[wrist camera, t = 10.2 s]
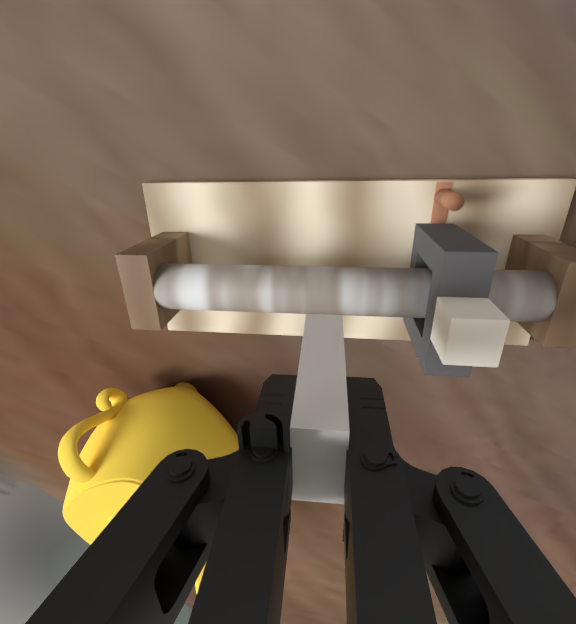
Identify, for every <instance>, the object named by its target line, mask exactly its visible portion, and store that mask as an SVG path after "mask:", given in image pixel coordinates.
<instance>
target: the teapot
mask: <svg viewBox="0 0 576 624" xmlns="http://www.w3.org/2000/svg"><path fill="white" fill-rule="evenodd" d="M109 400H110V401H111V403H112V405H111V404H110V403H109ZM96 404H97V407H98V408H99V409H100V410H101V411H103V412H101V413H98V414H96V415H94V416H91V417H89V418H87V419H85V420H83V421H81V422H79V423H78V424H76V425H75V426H73V427H72V428H71V429H70V430H69V431H68V432H67V433H66V434H65V435H64V436H63V438H62V439H61V442H60V444H59V448H58V457H59V462H60V465H61V467H62V469H63V471H64V472H65V473H66V475H67V476H68V477H70V478H71V479H70V483H69V486H68V490H67V493H66V497H65V501H64V506H63V516H64V519H65V521H66V522H67V523H68V525H69V526H70V527H71V528H72V529H73V530H74V531H75V532H76V533H77V534H78V535H79V536H81V537H82V538H83V539H84V540H85V541H87V542H88V543H89V544H90V545H91V544H92V543H93V542H94V540H95V539H96V538H97V537H98V536H99V534H100V533H101V532H102V531H103V530H104V528H105V527H106V526H107V525H108V524H109V522H110V521H111V520H112V519H113V518H114V516H115V515H116V514H117V513H118V512H119V510H120V509H121V508H122V507H123V506H124V504H125V503H126V502H127V501H128V500H129V498H130V497H131V496H132V495H133V494H134V492H135V491H136V490H137V489H138V488H139V486H140V485H141V484H142V483H143V482H144V480H145V479H146V478H147V477H148V476H149V474H150V473H151V472H152V471H153V470H154V468H155V467H156V466H157V465H158V464H159V462H160V461H162V460H163V459H164V458H165V457H166V456H167V455H169V454H171V453H173V452H175V451H178V450H183V449H194V450H197V451H199V452H201V453H203V454H204V456H205V457H206V459H212V458H217V457H222V456H226V455H229V454H231V453H233V452H235V451H237V450H238V449H239V445H238V436H237V434H236V432H235V431H234V429H233V428H232V427H231V425H230V424H229V423H228V421H227V420H226V419H225V418H224V417H223V415H222V414H221V413H220V412H219V411H218V410H217V409H216V408H215V407H214V406H213V405H212V404H211V403H210V402H209V401H208V400H207V399H205V398H204V397H203V396H202V395H200V394H199V393H198V391H197V389H196V388H195V387H194V386H193V385H191V384H189V383H185V382H181V383H178V384H176V385H175V386H174V387H168V388H162V389H158V390H153V391H150V392H146V393H143V394H140V395H137V396H135V397H132V398H130V399H128V400H127V396H126V394H125V393H124V392H123V391H121V390H120V389H118V388H114V387H112V388H107V389H104V390H103V391H101V392H100V393H99V394H98V396H97V398H96ZM97 425H98V426H97ZM95 426H97V427H96V429H95V430H94V431H93V433H92V434H91V436H90V438H89V439H88V441H87V442H86V444H85V446H84V448H83V450H82V451H81V453H80V455H79V453H78V449H77V443H78V440H79V438H80V437H81V436H82V435H83V434H84V433H85V432H87V431H88V430H90V429H91V428H93V427H95ZM206 562H207V561H206ZM205 565H206V563H205ZM205 565H204V567H203V569H202V571H201V573H200V575H199V576H198V578H197V580H196V582H195V585H196V594H197V592H198V589H199V585H200V582H201V579H202V575H203V572H204V568H205Z"/></svg>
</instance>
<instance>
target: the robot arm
mask: <svg viewBox="0 0 576 624" xmlns="http://www.w3.org/2000/svg"><path fill="white" fill-rule="evenodd" d="M236 427H237V436H238V445H239V449H238V450H237V451H235V452H233V453H231V454H229V455H226V456H222V457H217V458H212V459H206V457H205V456H204V454H203V453H201V452H199V451H197V450H194V449H183V450H178V451H175V452H173V453H171V454H169V455H167V456H166V457H165V458H164V459H163V460H162V461H160V462H159V464H158V465H157V466H156V467H155V468H154V470H153V471H152V472H151V473H150V474H149V476H148V477H147V478H146V479H145V480H144V482H143V483H142V484H141V485H140V486H139V488H138V489H137V490H136V491H135V492H134V494H133V495H132V496H131V497H130V498H129V500H128V501H127V502H126V503H125V504H124V506H123V507H122V508H121V509H120V510H119V512H118V513H117V514H116V515H115V516H114V518H113V519H112V520H111V521H110V522H109V524H108V525H107V526H106V527H105V528H104V530H103V531H102V532H101V533H100V534H99V536H98V537H97V538H96V539H95V540H94V542H93V543H92V544H91V545H90V546H89V548H88V549H87V550H86V551H85V552H84V554H83V555H82V556H81V557H80V558H79V560H78V561H77V562H76V563H75V565H74V566H73V567H72V568H71V569H70V570H69V572H68V573H67V574H66V575H65V576H64V578H63V579H62V580H61V581H60V583H59V584H58V585H57V586H56V587H55V588H54V590H53V591H52V592H51V593H50V595H49V596H48V597H47V598H46V599H45V600H44V602H43V603H42V604H41V605H40V607H39V608H38V609H37V610H36V611H35V612H34V614H33V615H32V616H31V617H30V618H29V620H28V621H27V622H26V623H25V624H174V622H175V620H176V618H177V616H178V614H179V612H180V611H181V609H182V607H183V605H184V603H185V601H186V599H187V597H188V595H189V593H190V592H191V590H192V588H193V586H194V584H195V582H196V580H197V578H198V576H199V575H200V573H201V571H202V569H203V567H204V565H205V563H206V565H205V568H204V572H203V575H202V579H201V582H200V585H199V589H198V592H197V596H196V599H195V603H194V606H193V609H192V613H191V616H190V620H189V623H188V624H280V618H281V608H282V599H283V589H284V579H285V570H286V560H287V551H288V541H289V531H290V522H291V510H290V506H291V497H292V500H301V501H313V502H325V503H336V504H344V503H345V515H344V529H343V542H344V544H345V578H346V611H347V624H437V622H436V617H435V612H434V608H433V603H432V598H431V594H430V589H429V584H428V580H427V575H426V572H427V574H428V577H429V579H430V581H431V584H432V586H433V588H434V590H435V593H436V595H437V597H438V600H439V602H440V604H441V606H442V609H443V611H444V613H445V615H446V618H447V620H448V622H449V624H576V598H575V596H574V595H573V594H572V592H571V591H570V590H569V588H568V587H567V586H566V584H565V583H564V582H563V580H562V579H561V578H560V576H559V575H558V573H557V572H556V571H555V569H554V568H553V567H552V565H551V564H550V563H549V561H548V560H547V559H546V557H545V556H544V555H543V553H542V552H541V551H540V549H539V548H538V546H537V545H536V544H535V542H534V541H533V540H532V538H531V537H530V536H529V534H528V533H527V532H526V530H525V529H524V528H523V526H522V525H521V524H520V522H519V521H518V519H517V518H516V517H515V515H514V514H513V513H512V511H511V510H510V509H509V507H508V506H507V505H506V503H505V502H504V501H503V499H502V498H501V497H500V495H499V494H498V492H497V491H496V490H495V488H494V487H493V486H492V485H491V484H490V483H489V482H488V481H487V480H486V479H485V478H484V477H482V476H481V475H479V474H477V473H476V472H474V471H472V470H469V469H466V468H463V467H449V468H446V469H443V470H442V471H441V472H440V473H439V474H438V475H434V474H432V473H429V472H426V471H423V470H420V469H418V468H415V467H413V466H411V465H410V464H408V463H407V462H405V461H404V460H403V459H402V458H401V457H400V456H399V454H398V453H397V452H396V450H395V448H394V445H393V442H392V437H391V432H390V427H389V422H388V417H387V412H386V407H385V402H384V397H383V392H382V388H381V387H380V385H379V384H378V383H377V382H376V380H375V379H374V378H360V377H346V366H345V350H344V334H343V318H342V315H326V314H306V319H305V326H304V333H303V340H302V347H301V354H300V361H299V368H298V375H276V374H272V375H271V376H270V377H269V378H268V379H267V380H266V381H265V382H264V384H263V387H262V391H261V395H260V398H259V402H258V405H257V409H256V411H255V412H252V413H249V414H247V415H246V416H245V417H243V418H242V419H241V420H240V421H239V423H238V425H237V426H236ZM206 561H207V562H206ZM425 570H426V571H425Z"/></svg>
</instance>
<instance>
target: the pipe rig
mask: <svg viewBox="0 0 576 624" xmlns="http://www.w3.org/2000/svg"><path fill="white" fill-rule="evenodd" d="M142 186H143V192H144V197H145V203H146V209H147V214H148V220H149V225H150V231H151V236H152V237H151V238H149V239H147V240H145V241H143V242H141V243H139V244H137V245H135V246H133V247H130V248H128V249H126V250H124V251H122V252H120V253H118V254H116V255H115V257H116V261H117V265H118V270H119V274H120V279H121V283H122V287H123V292H124V296H125V301H126V305H127V309H128V314H129V318H130V322H131V327H132V329H140V330H162V329H163V328H164V327H165V326H166V325H168V330H179V331H202V332H225V333H249V334H272V335H295V336H303V333H304V326H305V319H306V314H326V315H342V318H343V334H344V338H365V339H388V340H411V339H410V337H409V334H408V332H407V329H406V326H405V324H404V321H403V317H405V318H425V316H426V310H427V304H428V297H429V291H430V285H431V278H432V271H431V269H430V268H410V263H411V255H412V247H413V239H414V232H415V224H416V223H446V224H456V225H457V226H459V227H460V228H462V229H463V230H465V231H467V232H468V233H470V234H471V235H473V236H474V237H476V238H477V239H479V240H480V241H482V242H484V243H485V244H487V245H488V246H490V247H491V248H493V249H494V250H496V251H497V252H499V254H498V258H497V262H496V267H495V271H494V275H493V280H492V284H491V288H490V292H489V297H488V298H489V299H490V300H491V301H492V302H493V303H494V304H495V305H496V306H497V307H498V308H499V309H500V310H501V311H502V312H503V313H504V314H505V315H506V316H507V317H508V318H509V319H510V324H509V328H508V331H507V335H506V339H505V342H504V345H527V346H528V343H529V340H530V336H532V337H533V338H534V339H535V340H536V341H537V342H538V343H539V344H540V345H541V346H542V347H556V348H576V248H575V247H573V246H571V245H568V244H566V243H563V242H561V241H559V240H560V237H561V234H562V230H563V227H564V224H565V220H566V217H567V214H568V211H569V207H570V204H571V201H572V197H573V194H574V191H575V187H576V179H573V178H506V179H406V180H306V181H206V182H146V183H142Z"/></svg>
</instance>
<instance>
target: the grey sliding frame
mask: <svg viewBox="0 0 576 624" xmlns="http://www.w3.org/2000/svg"><path fill="white" fill-rule="evenodd" d="M498 254H499V252H497V251H496V250H494V249H493V248H491V247H490V246H488V245H487V244H485V243H484V242H482V241H480V240H479V239H477V238H476V237H474V236H473V235H471V234H470V233H468V232H467V231H465V230H463V229H462V228H460V227H459V226H457V225H456V224H446V223H416V224H415V232H414V239H413V247H412V255H411V263H410V268H430V269H431V271H432V278H431V285H430V291H429V297H428V304H427V310H426V316H425V318H405V317H403V321H404V324H405V326H406V329H407V332H408V334H409V337H410V339H411V342H412V345H413V347H414V350H415V352H416V355H417V358H418V360H419V363H420V365H421V368H422V371H423V373H424V375H434V376H453V377H470V374H471V369H472V366H479V367H498V365H499V361H500V357H501V354H502V350H503V346H504V342H505V339H506V335H507V331H508V328H509V324H510V319H509V318H508V317H507V316H506V315H505V314H504V313H503V312H502V311H501V310H500V309H499V308H498V307H497V306H496V305H495V304H494V303H493V302H492V301H491V300H490V299H489V298H488V297H489V292H490V288H491V284H492V280H493V275H494V271H495V267H496V262H497V258H498Z"/></svg>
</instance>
